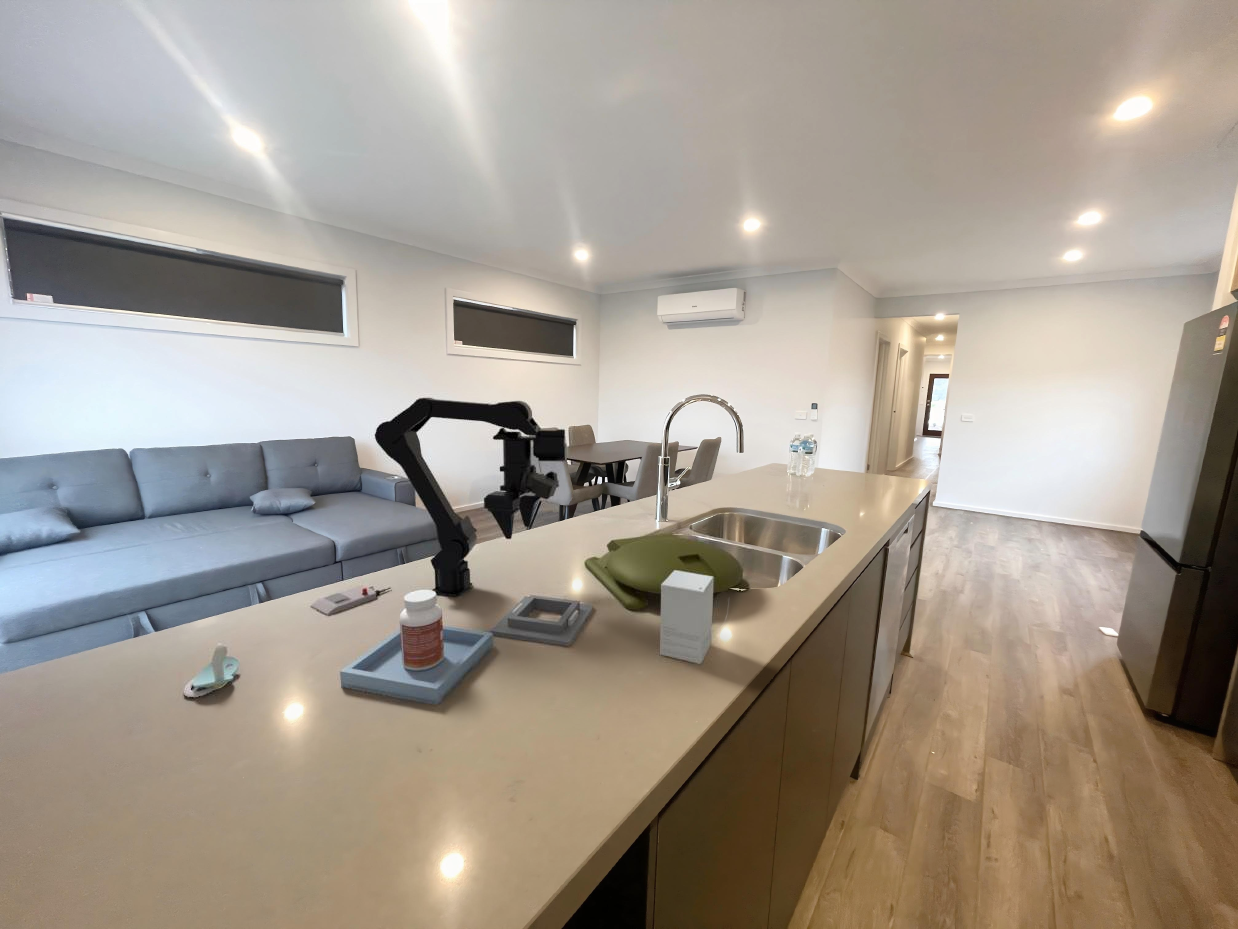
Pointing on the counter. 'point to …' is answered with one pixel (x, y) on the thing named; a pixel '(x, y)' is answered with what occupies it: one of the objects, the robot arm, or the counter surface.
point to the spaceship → (661, 566)
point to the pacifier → (213, 673)
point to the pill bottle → (421, 631)
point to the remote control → (345, 599)
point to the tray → (431, 686)
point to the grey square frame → (544, 621)
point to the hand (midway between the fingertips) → (518, 532)
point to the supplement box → (686, 616)
